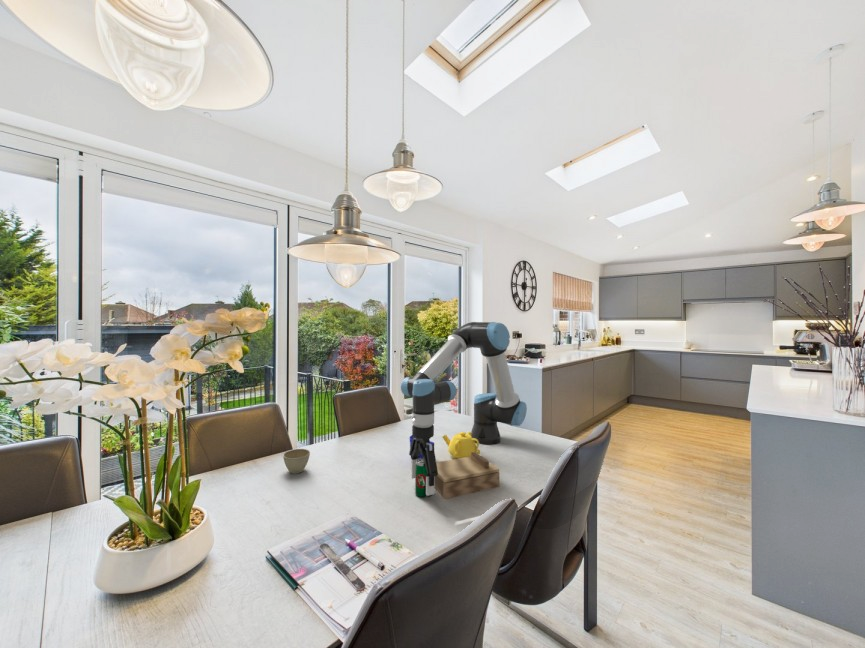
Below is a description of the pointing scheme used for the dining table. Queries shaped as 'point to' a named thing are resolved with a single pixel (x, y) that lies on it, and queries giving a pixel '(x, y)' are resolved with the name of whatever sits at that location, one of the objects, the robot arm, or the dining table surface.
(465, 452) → the teapot
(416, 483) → the soda can
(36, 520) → the dining table surface
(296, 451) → the flower pot
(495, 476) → the open wooden box
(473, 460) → the lid
